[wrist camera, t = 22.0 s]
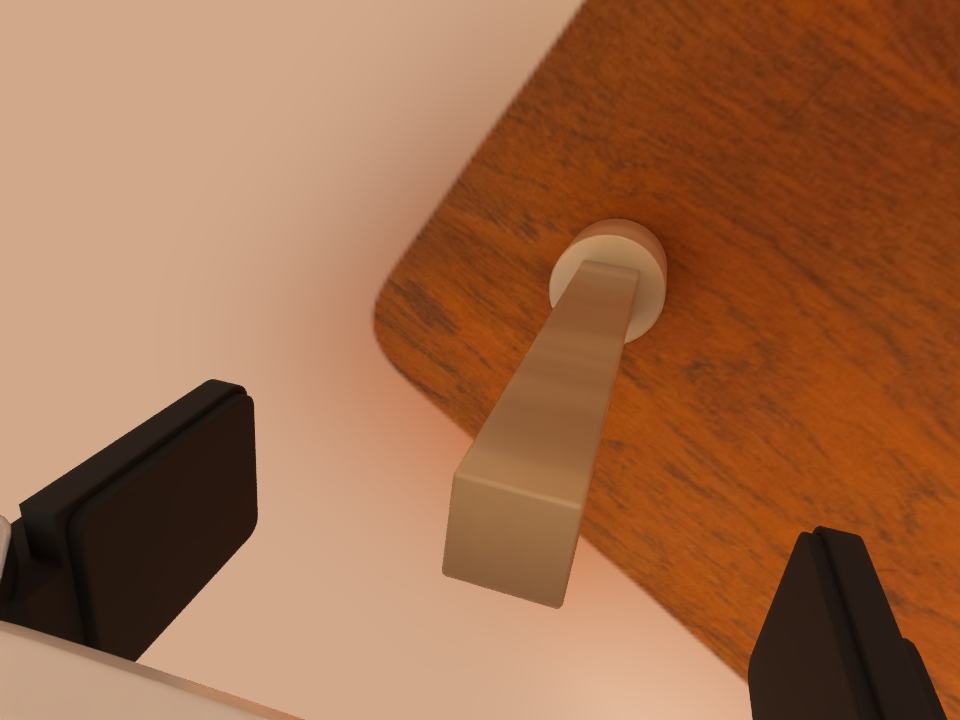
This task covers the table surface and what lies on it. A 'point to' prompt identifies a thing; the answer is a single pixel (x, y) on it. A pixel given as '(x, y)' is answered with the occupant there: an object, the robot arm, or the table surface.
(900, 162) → the table surface
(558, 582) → the stirrer
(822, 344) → the table surface
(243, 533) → the robot arm
